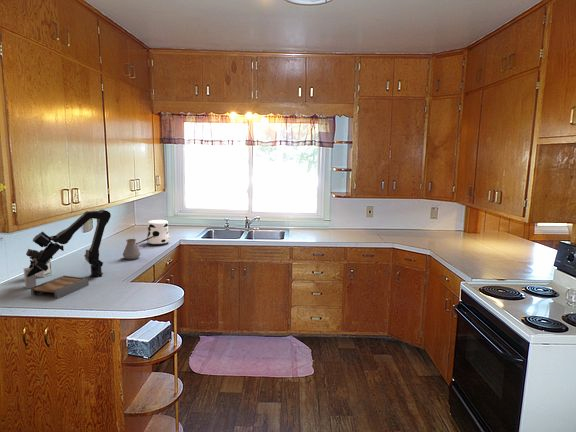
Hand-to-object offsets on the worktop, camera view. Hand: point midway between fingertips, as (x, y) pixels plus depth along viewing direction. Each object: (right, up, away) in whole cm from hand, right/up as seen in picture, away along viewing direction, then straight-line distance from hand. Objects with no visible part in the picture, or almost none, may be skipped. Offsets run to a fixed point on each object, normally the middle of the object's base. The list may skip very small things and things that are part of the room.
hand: (26, 275), depth 214 cm
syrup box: (-4, -3, +21) cm, 22 cm away
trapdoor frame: (+19, -7, -2) cm, 21 cm away
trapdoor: (+19, -7, -3) cm, 21 cm away
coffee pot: (+36, +3, +64) cm, 74 cm away
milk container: (+36, +9, +106) cm, 113 cm away
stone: (+1, -6, +2) cm, 7 cm away
